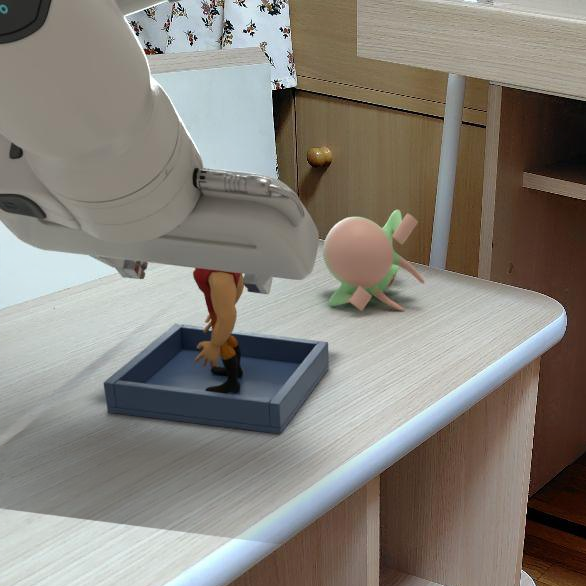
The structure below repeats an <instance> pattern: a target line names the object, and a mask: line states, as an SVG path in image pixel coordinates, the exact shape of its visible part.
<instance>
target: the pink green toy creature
mask: <svg viewBox="0 0 586 586" xmlns="http://www.w3.org/2000/svg"><path fill="white" fill-rule="evenodd" d="M418 223H419V221H418V220H417V219H416V218H415V217H414V216H413V215H412V214H410V213H406V215H404V217H403V216H402V212H401V210H400V209H395V210H394V211H393V212H392V213H391V214H390V216H389V218H388V219H387V221H386V223H385V225H384V226H383V227H381V226H380V225H379V224H377V223H376V222H375V221H373V220H370V219H368V218H365V217H364V216H363V217H362V216H350V217H346V218H343V219H341V220H340V221H338V222H337V223H335V225H334V226H332V227H331V229H330V230H329V232H328V234H327V235H326V237H325V239H324V242H323V245H322V246H323V247H322V257H323V262H324V264H325V266H326V268H327V270H328V272H329V273H330V274H331V275H332V276H333V278H335V279H336V280H337V281H338V282H339V283H341V284H340V286H339V287H338V289H336V291H335V292H334V293H333V294H332V295H331V296H330V297H329V299H328V305H329V306H330V307H335V306H341V305H345V304H349V303H350V304H351V305H352V306H354V307H355V308H356V309H358V310H359V311H360V312H363V311H364V309H365V307H366V306H367V305H368V303H369V302H370V300H371V299H372V297H375V298H377V299H378V300H379V301H380V302H382V303H384V304H386V305H387V306H390V307H391V308H394V309H396V310H399V311H402V312H403V311H404V312H405V307H404V306H401V305H400V304H399V303H396V302H395V301H394V300H392V299H390V298H389V297H388V296H387V295H386V294H385V293H384V291H385V290H386V289H388V288H389V287H390V286H392V284H393V282H395V277H396V276H397V274H398V271H399V268H402V269H404V270H406V271H407V272H408V273H410V274H411V275H412V276H413V277H414V278H415V279H416V280H418V281H419V282H420V283H421V284H422V285H425V283H426V282H425V280H424V278H423V277H422V276H421V274H420V273H419V272H418V270H417V269H416V268H415V267H414V266H413V264H412V263H410V262H409V261H408V260H406V259H405V258H404V257H402V256H401V255H399V254H398V253H397V252H396V251H395V249H394V244H393V243H394V242H393V241H394V240H395V241H396V242H397V243H398V244H400V245H402V246H403V245H404V244H405V243H406V241H407V239H408V238H409V236H410V235H411V233H412V232H413V231H414V229H415V227H416V226H417V225H418Z"/></svg>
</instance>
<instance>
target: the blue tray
mask: <svg viewBox="0 0 586 586" xmlns="http://www.w3.org/2000/svg"><path fill="white" fill-rule="evenodd" d="M205 327H206V326H200V325H192V324H182V323H175V324H173V325H172V326H171V327H169V328H168V329H167V330H165V332H163V333H162V334H160V335H159V336H158V337H156V339H155V340H154V341H152V342H151V343H150V344H148V345H147V346H146V347H144V349H142V350H141V351H140V352H139V353H138V354H137V355H135V356H134V357H133V358H132V359H131V360H129V361H127V362H126V363H125V364H124V365H123V366H122V367H120V368H119V369H118V370H117V371H116V372H114V373H113V374H112V375H111V376H110V377H108V378H107V379H106V380H105V381H103V389H104V395H105V402H106V410H107V413H109V414H110V413H111V414H116V415H117V414H119V415H126V416H127V415H128V416H134V417H141V418H142V417H143V418H151V419H158V420H165V421H172V422H173V421H174V422H183V423H191V424H197V425H198V424H199V425H205V426H206V425H207V426H214V427H215V426H216V427H221V428H230V429H239V430H247V431H254V432H255V431H256V432H262V433H270V434H279V435H281V434H282V433H283V432H284V430H285V429H286V427H287V426H288V425H289V423H290V422H291V420H292V419H293V418H294V417H295V415H296V414H297V413H298V412H299V410H300V408H302V406H303V404H304V403H305V402H306V400H307V399H308V398H309V396H310V395H311V393H312V392H313V391H314V389H315V388H316V387H317V386H318V384H319V382H320V381H321V380H322V379H323V378H324V376H325V374H326V373H327V372H328V370H329V369H330V365H329V362H330V361H329V342H328V341H322V340H313V339H306V338H298V337H288V336H281V335H274V334H264V333H259V332H258V333H256V332H250V331H249V332H248V331H242V330H241V331H240V330H233V331H232V333H231V335H232V336H234V337H235V339H236V340H237V341H238V343H239V346H240V350H241V359H240V366H241V369H242V371H243V376H241V377H237V379H238V382H239V383H240V390H239V391H237V392H231V393H227V394H225V393H217V392H209V391H205V389H206V388H208V387H213V386H218V385H221V384H223V383H224V382H226V381H227V379H228V375H227V374H215V373H212V372H211V368H212V367H210V365H209V359H208V361H207V363H206V366H205V367H204V366H203V365H202V364H203V360H204V356H203V357H202V358H200V359H199V361H197V362H195V358H196V357H197V356H198V355H199V354H200V353H201V352H202V350H203V348H204V347H202V348H201V349H198V348H197V346H198V345H199V343H200V342H204V341H211V338H212V337H211V333H212V327H210V328H209V330H208V331H207V333H204V332H203V331H204V329H205ZM217 364H218V365H219V366H218V367H224V365H223V362H222V360H221V356H220V354H219V358H218V362H217ZM213 366H214V361H213Z"/></svg>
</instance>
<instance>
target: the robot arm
mask: <svg viewBox="0 0 586 586" xmlns="http://www.w3.org/2000/svg"><path fill="white" fill-rule="evenodd" d="M180 1H182V0H0V222H1V223H2V224H3V225H4V226H5V227H6V228H7V229H8V231H10V232H11V233H12V234H13V235H14V236H15V237H16V238H17V239H18V240H19V241H21V242H23V243H24V244H26V245H28V246H31V247H34V248H35V249H38V250H42V251H47V252H57V253H65V254H67V253H68V254H75V255H81V256H82V255H84V256H88V257H90V258H93V259H95V260H97V261H99V262H101V263H103V264H104V265H106V266H109V267H111V268H113V269H115V270H116V271H117V272H118V273H119V275H120V276H121V278H126V279H135V280H144V279H145V277H146V272H145V271H146V270H147V269H148V264H150V263H152V264H160V265H167V266H177V267H184V268H192V269H195V268H201V269H209V270H217V271H226V272H234V273H242V275H243V274H244V275H243V277H244V280H243V284H244V288H246V291H247V292H248V293H254V294H261V295H270V292H271V289H272V284H273V278H279V279H284V280H285V279H286V280H294V281H302V280H304V279H306V278H307V277H308V276H310V275H311V274H312V273H313V271H314V267H315V264H316V260H317V256H318V255H317V254H318V249H319V241H320V234H319V230H318V228H317V225H316V224H315V222H314V220H313V218H312V216H311V214H310V213H309V211H308V210H307V209H306V207H305V205H304V204H303V202H302V200H301V199H300V198H299V196H298V194H297V193H296V192H295V191H294V190H293V189H291V188H290V187H289V186H288V185H287V184H286V183H284V182H283V181H281V180H280V179H277V178H275V177H272V176H269V175H266V174H261V173H253V172H246V171H237V170H227V169H219V168H210V167H204V164H203V163H204V162H203V160H202V157H201V153H200V151H199V150H198V148H197V146H196V144H195V142H194V140H193V138H192V137H191V135H190V132H189V131H188V129H187V128H186V126H185V124H184V121H183V120H182V118H181V116H180V115H179V112H178V110H177V109H176V107H175V105H174V104H173V102H172V100H171V99H170V96H169V95H168V93H167V92H166V91H165V90H164V88H163V87H162V85H161V84H159V82H158V81H157V80H156V79H155V78H153V76H151V69H150V66H149V61H148V58H147V55H146V52H145V50H144V49H143V47H142V44H141V43H140V40H139V38H138V37H137V35H136V34H135V32H134V30H133V28H132V26H131V25H130V23H129V21H128V20H127V18H126V17H128V16H130V15H133V14H136V13H138V12H139V13H140V12H141V11H144V10H146V9H149V8H152V7H154V6H157V5H158V6H159V5H161V4H163V3H165V2H168V3H169V4H173V3H176V2H180Z"/></svg>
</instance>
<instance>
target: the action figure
mask: <svg viewBox="0 0 586 586" xmlns="http://www.w3.org/2000/svg"><path fill="white" fill-rule="evenodd" d="M192 276H193V280H194V281H195V284H196V286H197V288H198V290H199V291H201V292H202V293H203V296H204V301H205V305H206V308H207V312H208V315H207V317H206V319H205V320H204V322H205V323H208V324H207V325H206V326H204V327H205V329H204V331H203V332H204V333H207V331H208V330H209V328H212V333H211V337H212V338H211V341H204V342H200V343H199V345H198V346H197V348H198V349H201V348H202V347H204V348H203V350H202V352H201V353H200V354H199V355H198V356H197V357H196V358H195V362H197V361H199V359H200V358H202V357H203V356H204V360H203V364H202V365H203V366H204V367H205V366H206V363H207V361H208V359H209V365H210V367H212V368H211V372H212V373H215V374H227V375H228V379H227V381H226V382H224V383H223V384H221V385H218V386H213V387H208V388H206V389H205V391H209V392H217V393H225V394H227V393H231V392H237V391H239V390H240V383H239V382H238V379H237V377H241V376H243V371H242V369H241V366H240V359H241V350H240V346H239V343H238V341H237V340H236V339H235V337H234V336H232V335H231V333H232V331H234V330H235V325H236V322H237V316H238V315H237V314H238V313H237V308H236V305H237V303H238V302H239V300H240V298H241V296H242V294H243V292H244V288H245V286H244V284H243V280H244V275H243V273H234V272H226V271H217V270H209V269H201V268H194V270H193V272H192ZM219 354H220V356H221V360H222V362H223V365H224V367H218V366H219V365H218V364H217V362H218V358H219ZM213 361H214V366H213Z"/></svg>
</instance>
